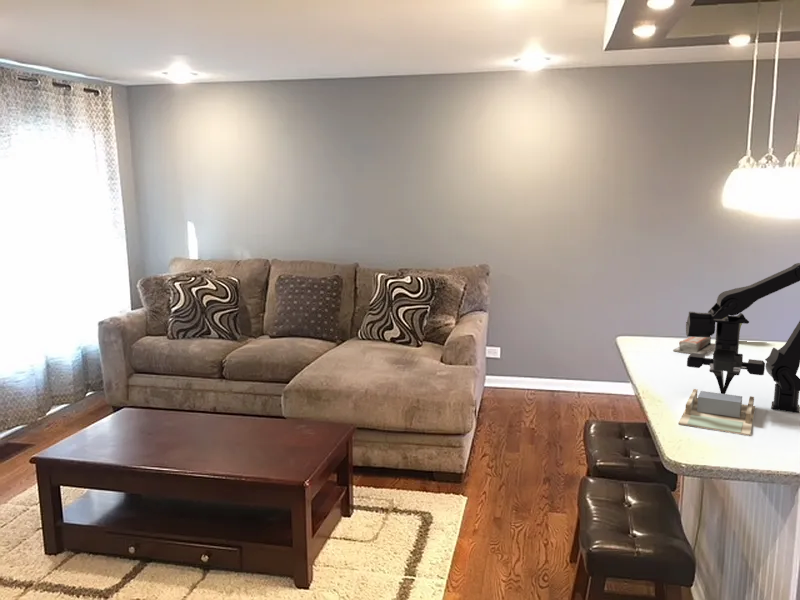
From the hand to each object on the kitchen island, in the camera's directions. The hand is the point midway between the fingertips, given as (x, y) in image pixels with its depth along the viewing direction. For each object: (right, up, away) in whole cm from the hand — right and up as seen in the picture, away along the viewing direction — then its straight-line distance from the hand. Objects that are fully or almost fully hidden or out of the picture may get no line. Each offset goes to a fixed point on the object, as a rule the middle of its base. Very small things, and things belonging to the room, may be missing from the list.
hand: (723, 394), depth 186 cm
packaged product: (+20, +7, +63) cm, 66 cm away
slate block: (-5, -4, -7) cm, 9 cm away
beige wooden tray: (-6, -4, -9) cm, 11 cm away
